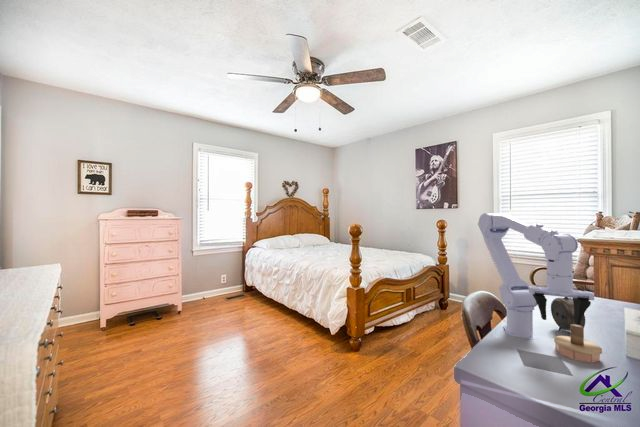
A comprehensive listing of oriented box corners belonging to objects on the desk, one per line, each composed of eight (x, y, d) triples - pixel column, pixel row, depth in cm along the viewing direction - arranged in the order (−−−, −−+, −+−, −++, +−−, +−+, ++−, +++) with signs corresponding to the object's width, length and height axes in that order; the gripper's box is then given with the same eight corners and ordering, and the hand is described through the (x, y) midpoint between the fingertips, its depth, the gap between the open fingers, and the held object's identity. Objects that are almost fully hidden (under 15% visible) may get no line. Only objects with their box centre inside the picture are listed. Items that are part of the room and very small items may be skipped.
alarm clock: (587, 339, 89) (586, 290, 89) (568, 338, 90) (567, 289, 90) (564, 326, 100) (563, 282, 100) (547, 325, 101) (547, 282, 101)
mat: (517, 351, 81) (517, 349, 81) (560, 359, 76) (560, 357, 76) (524, 367, 72) (524, 365, 72) (573, 378, 68) (573, 375, 68)
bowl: (552, 346, 85) (552, 336, 85) (590, 352, 80) (590, 342, 80) (562, 359, 77) (562, 348, 77) (604, 367, 73) (604, 355, 73)
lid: (551, 335, 85) (551, 317, 85) (596, 344, 80) (596, 324, 80) (557, 348, 77) (557, 327, 77) (607, 358, 71) (606, 336, 71)
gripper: (532, 275, 79) (533, 321, 79) (599, 280, 73) (600, 330, 73) (526, 270, 86) (527, 313, 85) (587, 275, 79) (588, 321, 79)
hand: (560, 321), depth 79 cm, fingers open, 7 cm apart
